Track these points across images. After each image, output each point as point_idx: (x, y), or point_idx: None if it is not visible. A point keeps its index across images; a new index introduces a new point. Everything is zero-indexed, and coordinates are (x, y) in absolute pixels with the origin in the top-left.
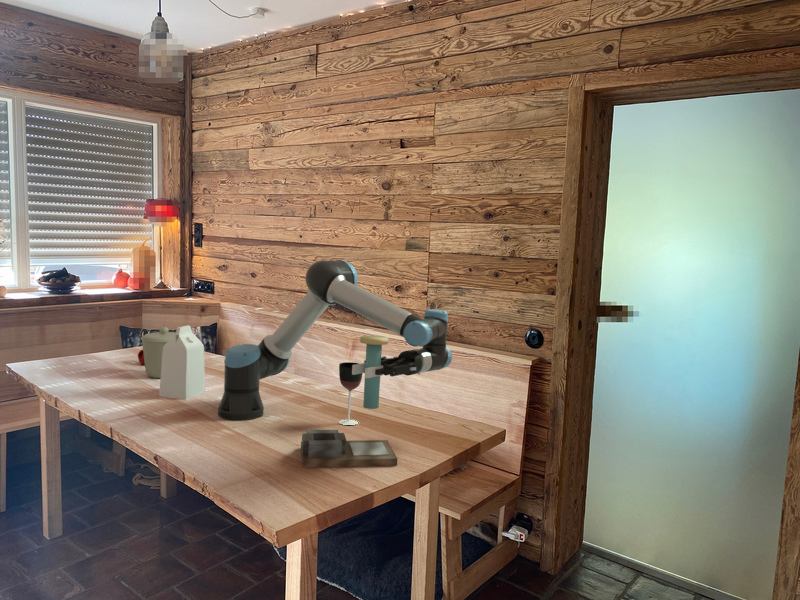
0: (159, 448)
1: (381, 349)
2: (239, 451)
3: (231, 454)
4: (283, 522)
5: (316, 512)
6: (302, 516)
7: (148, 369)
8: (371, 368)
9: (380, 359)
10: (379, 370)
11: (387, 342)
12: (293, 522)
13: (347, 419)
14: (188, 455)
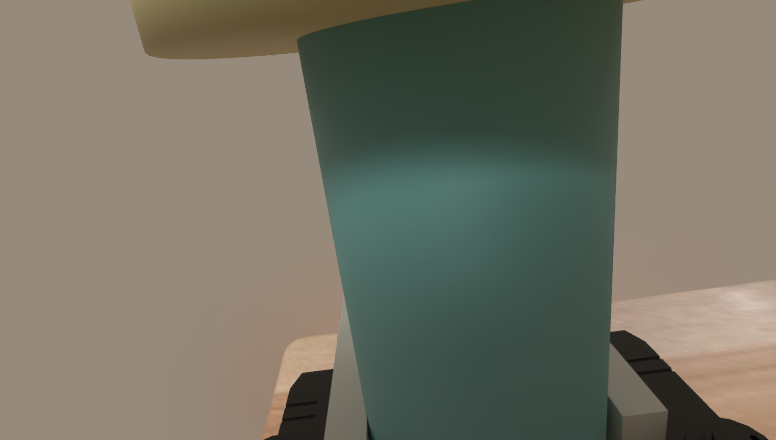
0: (752, 292)
1: (338, 186)
2: (716, 396)
3: (688, 376)
4: (297, 350)
5: (275, 397)
6: (286, 375)
7: None
8: (342, 313)
9: (355, 346)
10: (293, 391)
11: (135, 19)
12: (284, 360)
13: None
14: (692, 317)
